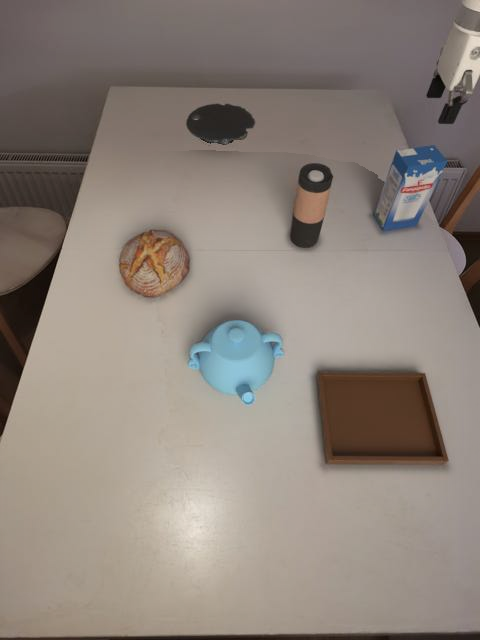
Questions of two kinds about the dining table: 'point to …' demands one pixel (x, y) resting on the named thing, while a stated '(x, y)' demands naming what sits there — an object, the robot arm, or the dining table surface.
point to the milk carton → (408, 187)
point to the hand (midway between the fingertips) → (439, 109)
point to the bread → (153, 263)
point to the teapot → (236, 358)
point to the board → (220, 123)
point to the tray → (379, 419)
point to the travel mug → (310, 204)
